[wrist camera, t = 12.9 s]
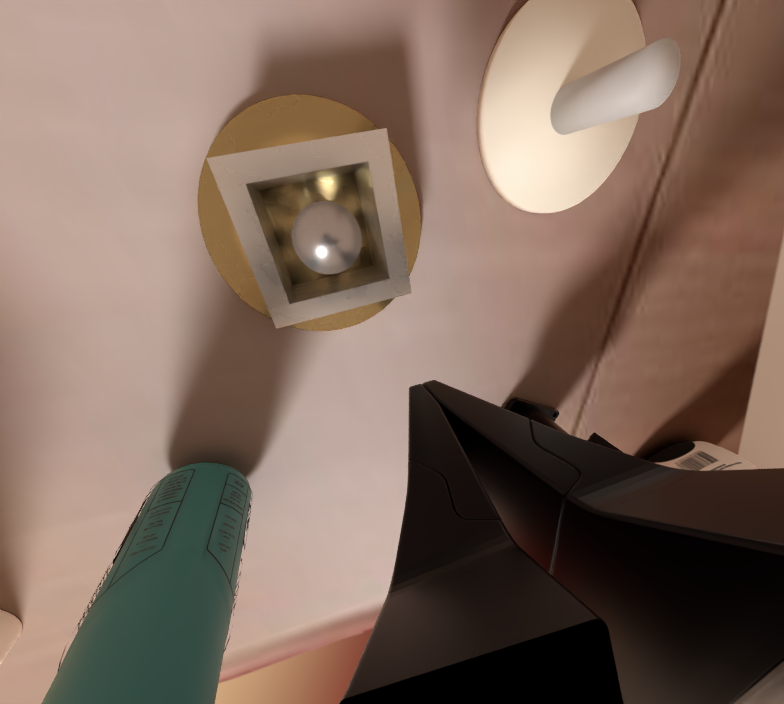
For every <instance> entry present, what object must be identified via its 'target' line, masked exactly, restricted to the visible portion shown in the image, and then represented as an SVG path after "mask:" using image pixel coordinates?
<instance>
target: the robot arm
mask: <svg viewBox="0 0 784 704" xmlns="http://www.w3.org/2000/svg"><path fill="white" fill-rule="evenodd" d="M558 415H559V412H558V411H557V410H556V409H554V408H550V407H547V406H543V405H540V404H536V403H533V402H529V401H525V400H522V399H518V398H514V399H512V400H511V401H510V403H509V404H508V406H507V407H506V409H504V408H501V407H499V406H497V405H494V404H492V403H489V402H487V401H484V400H482V399H479V398H477V397H475V396H472V395H470V394H467V393H465V392H462V391H460V390H458V389H455V388H453V387H450V386H448V385H445V384H443V383H441V382H438V381H436V380H432V381H429V382H425V383H423V384H418V385H415V386H411V387H410V388H409V452H408V460H409V462H408V486H407V495H406V503H405V510H404V516H403V522H402V528H401V533H400V539H399V545H398V551H397V557H396V562H395V567H394V572H393V576H392V581H391V584H390V588H389V591H388V595H387V598H386V600H385V602H384V605H383V607H382V609H381V612H380V614H379V616H378V619H377V621H376V623H375V626H374V628H373V630H372V633H371V635H370V637H369V640H368V642H367V644H366V647H365V649H364V651H363V654H362V656H361V658H360V661H359V663H358V665H357V668H356V670H355V672H354V674H353V677H352V679H351V681H350V684H349V686H348V688H347V691H346V692H345V694H344V696H343V698H342V700H341V702H340V704H784V468H780V469H744V470H710V471H697V470H685V469H678V468H672V467H668V466H663V465H660V464H656V463H653V462H650V461H647V460H644V459H641V458H638V457H634V456H631V455H628V454H625V453H623V452H622V451H620V450H619V449H617V448H616V447H615V446H613V445H612V444H610V443H609V442H607V441H606V440H605V439H603V438H602V437H600V436H599V435H597V434H596V433H595V432H594V433H593V434H592V435H591V436H590V438H589V439H588V440H587V441H586V440H583V439H580V438H577V437H575V436H572V435H569V434H568V433H567V432H565V431H564V430H563V429H562V428H561V427H560V426H558V425H557V424H556V423H555V422H554V421H555V420H556V418H557V417H558Z"/></svg>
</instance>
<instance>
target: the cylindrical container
mask: <svg viewBox="0 0 784 704" xmlns="http://www.w3.org/2000/svg"><path fill="white" fill-rule="evenodd" d="M21 632H22V624H21V622H20V620H19V619H18V618H17V617H15V616H14V615H12V614H10V613H8V612H6V611H3V610H0V664H1V663H2V661H3V660H4V658H5V657H6V655H7V654H8V652H9V651H10V649H11V648H12V646H13V645H14V643H15V642H16V640H17V639H18V637H19V636H20V634H21Z"/></svg>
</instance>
